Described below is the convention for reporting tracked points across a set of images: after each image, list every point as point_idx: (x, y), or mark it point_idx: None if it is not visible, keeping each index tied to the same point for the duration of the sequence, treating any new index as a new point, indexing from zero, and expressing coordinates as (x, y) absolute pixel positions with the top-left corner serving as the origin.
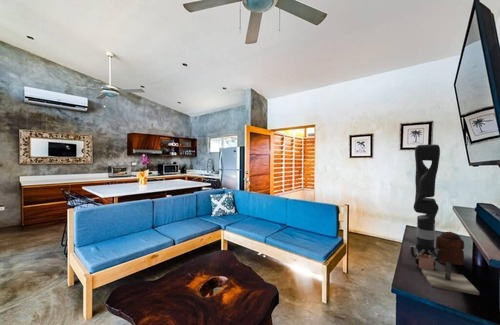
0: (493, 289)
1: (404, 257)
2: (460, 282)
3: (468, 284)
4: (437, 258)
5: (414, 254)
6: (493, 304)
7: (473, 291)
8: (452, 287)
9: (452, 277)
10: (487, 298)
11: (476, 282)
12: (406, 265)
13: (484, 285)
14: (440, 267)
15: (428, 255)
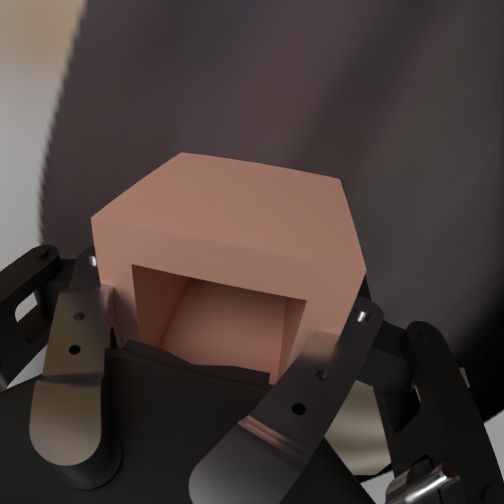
0: (491, 417)
1: (90, 31)
2: (357, 448)
3: (386, 451)
4: (382, 406)
5: (60, 285)
6: (372, 478)
7: (355, 472)
8: None
9: (355, 424)
10: (388, 465)
11: (486, 390)
12: (74, 240)
13: (492, 402)
14: (438, 228)
15: (308, 313)
